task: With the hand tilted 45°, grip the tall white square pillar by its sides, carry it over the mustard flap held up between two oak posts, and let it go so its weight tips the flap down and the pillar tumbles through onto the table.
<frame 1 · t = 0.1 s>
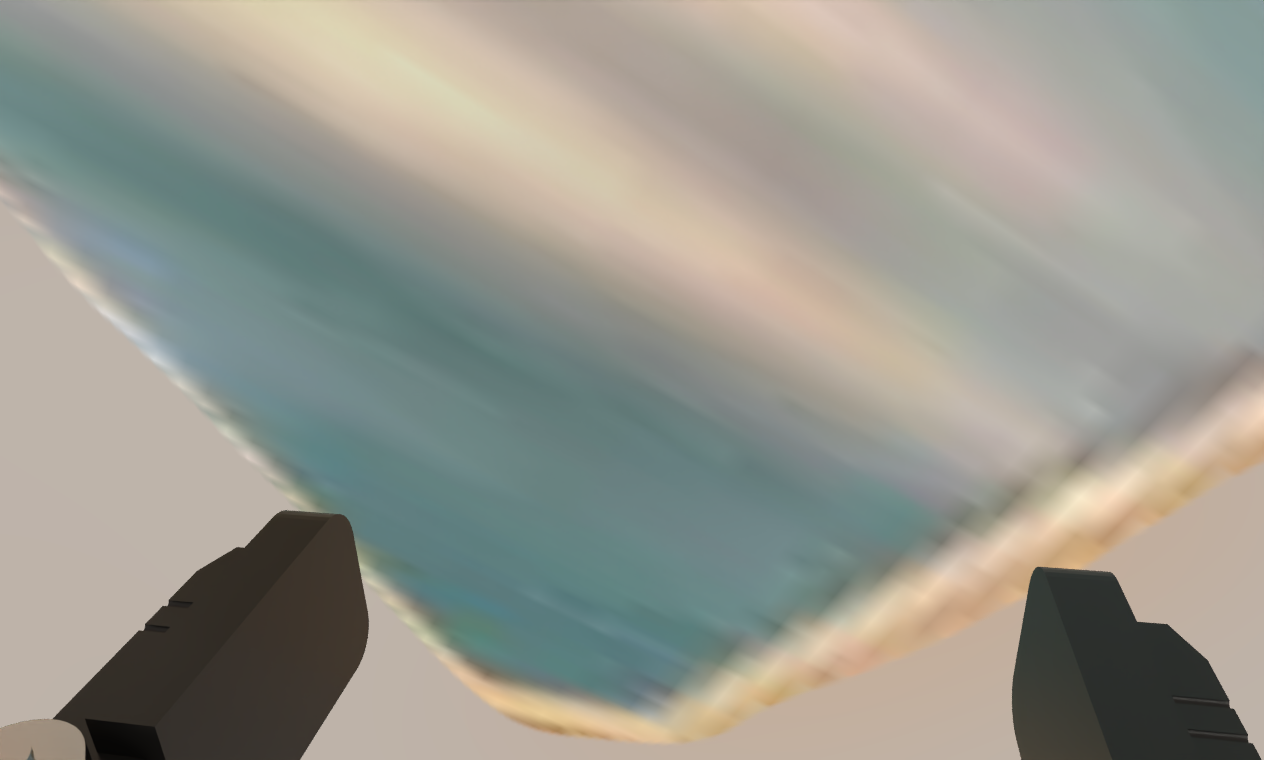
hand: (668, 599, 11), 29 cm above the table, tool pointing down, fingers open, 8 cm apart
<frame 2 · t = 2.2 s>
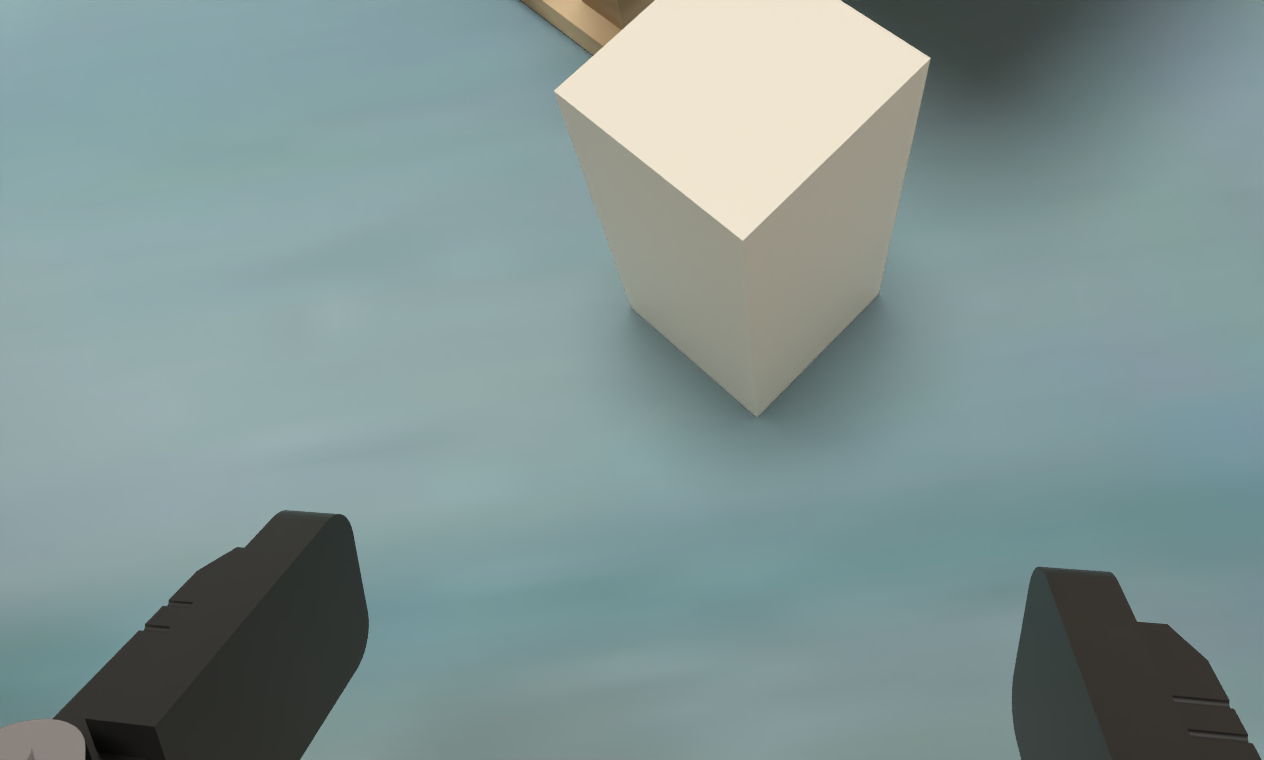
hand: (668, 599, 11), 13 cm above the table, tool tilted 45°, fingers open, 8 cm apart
white square pillar: (752, 300, 27), on the table
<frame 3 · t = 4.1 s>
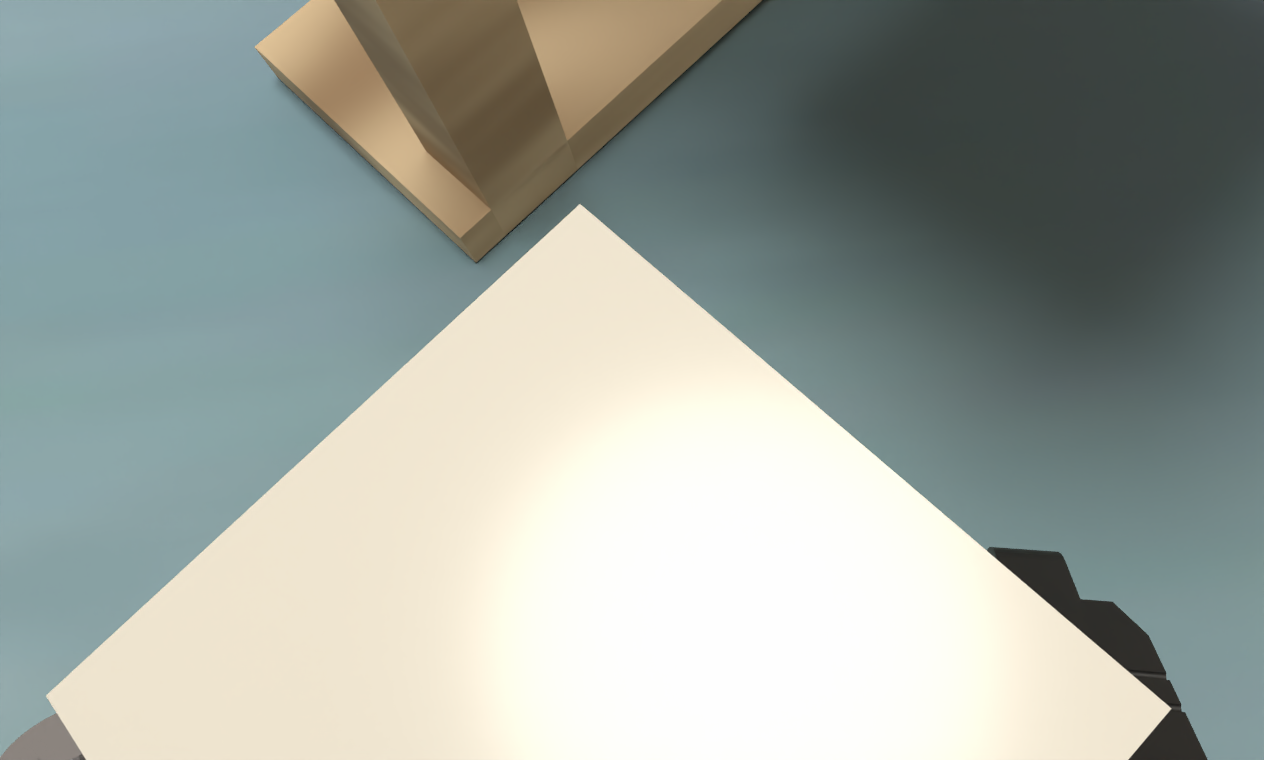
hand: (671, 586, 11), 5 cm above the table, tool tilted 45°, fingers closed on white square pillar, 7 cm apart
white square pillar: (695, 722, 15), on the table, touching gripper
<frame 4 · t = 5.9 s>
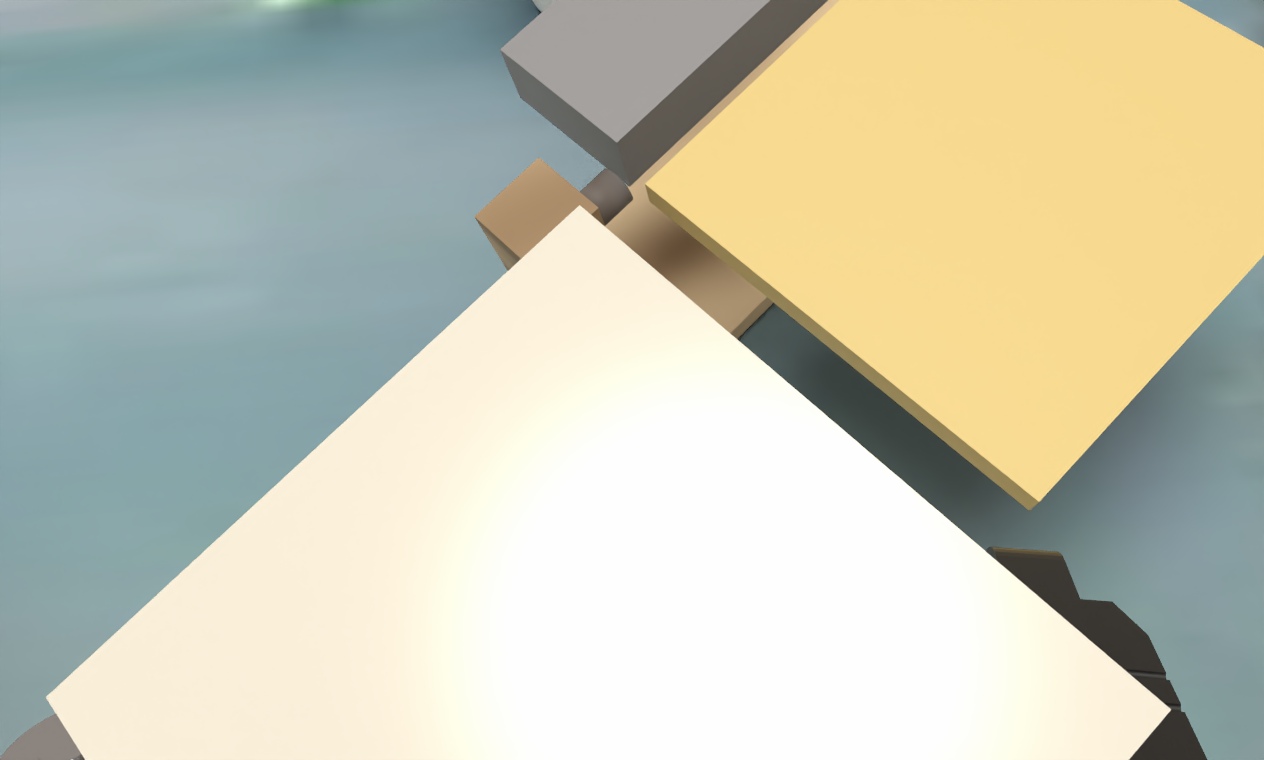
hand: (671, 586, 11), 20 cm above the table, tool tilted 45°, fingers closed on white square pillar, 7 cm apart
frame: (788, 250, 35), on the table
trapdoor: (890, 111, 23), point 11 cm above the table, hinge at 0.0°
white square pillar: (695, 722, 15), point 15 cm above the table, touching gripper
when the fingers open (20 cm above the table, at t = 7.7 s): white square pillar drops 5 cm, resting on trapdoor.
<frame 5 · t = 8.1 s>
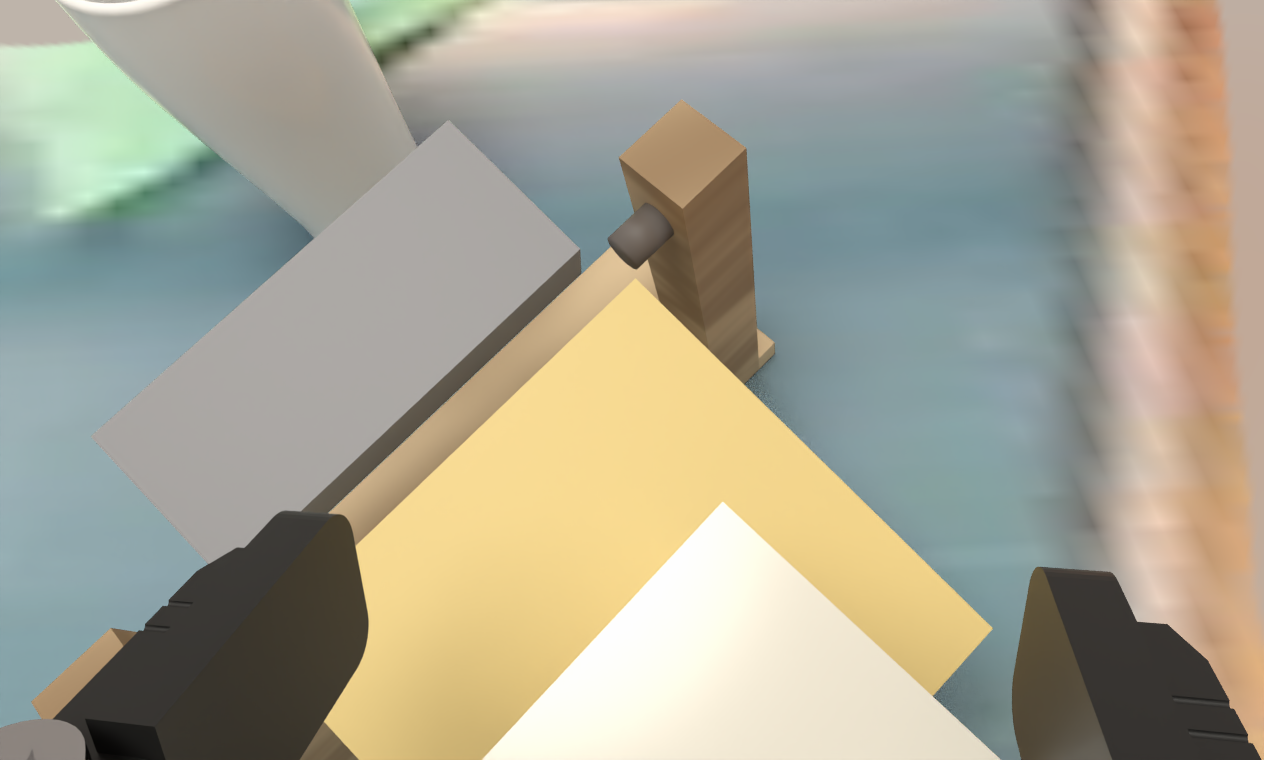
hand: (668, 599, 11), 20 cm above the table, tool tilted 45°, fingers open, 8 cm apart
drinking glass: (379, 210, 38), on the table
frame: (552, 536, 32), on the table
trapdoor: (537, 539, 22), point 11 cm above the table, hinge at -15.1°, touching white square pillar
white square pillar: (709, 734, 20), point 10 cm above the table, tilted 8°, touching trapdoor
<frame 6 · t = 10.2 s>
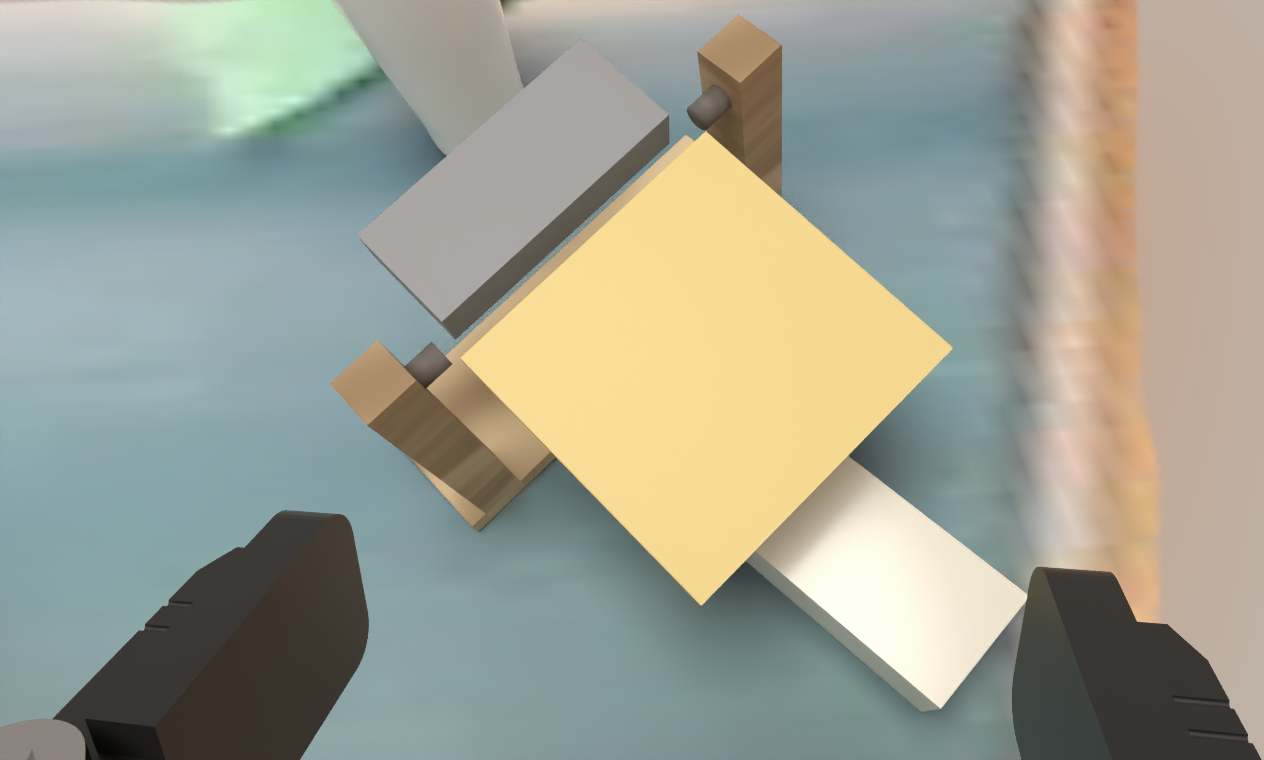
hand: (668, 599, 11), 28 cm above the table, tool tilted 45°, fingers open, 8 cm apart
drinking glass: (485, 128, 49), on the table
frame: (626, 361, 43), on the table
trapdoor: (641, 303, 32), point 11 cm above the table, hinge at -8.2°
white square pillar: (761, 484, 38), point 2 cm above the table, tilted 90°
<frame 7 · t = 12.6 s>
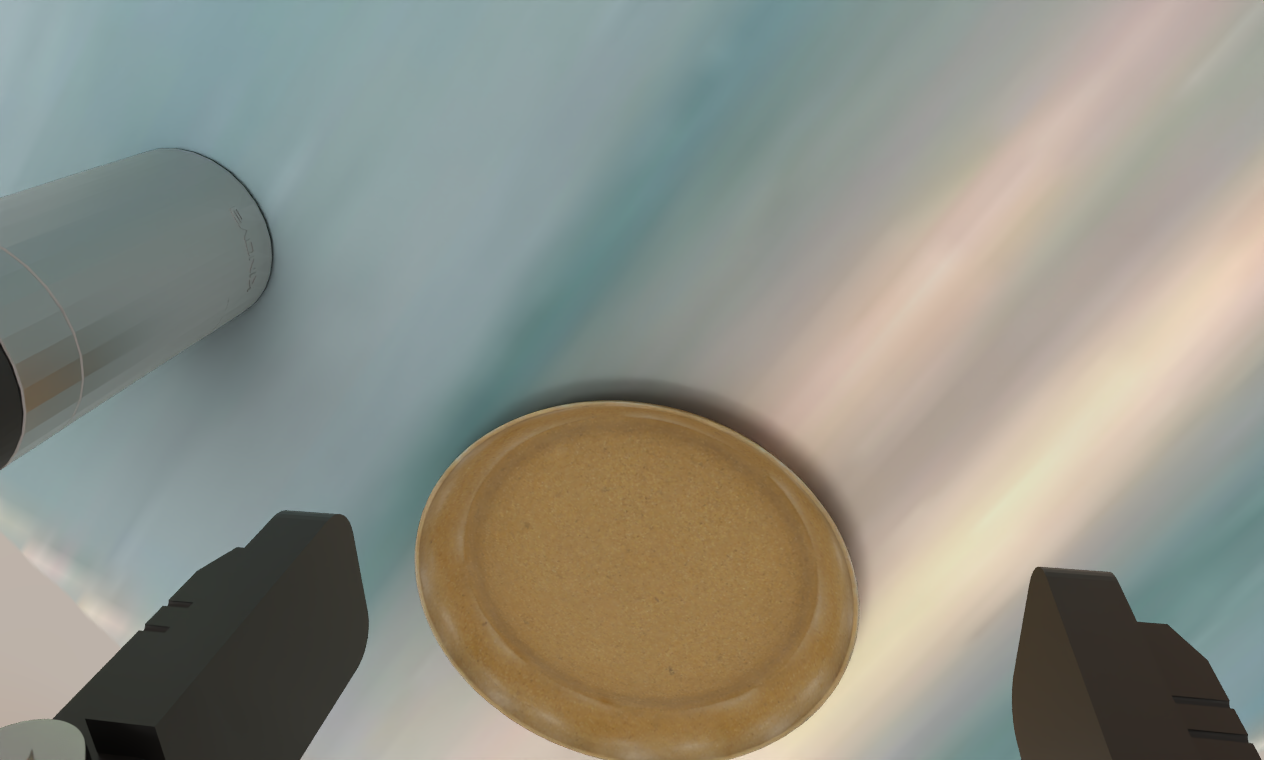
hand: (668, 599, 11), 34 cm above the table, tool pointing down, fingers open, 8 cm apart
plant saucer: (638, 565, 54), on the table
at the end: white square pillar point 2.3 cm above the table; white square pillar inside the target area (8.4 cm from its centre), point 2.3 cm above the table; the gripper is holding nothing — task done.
